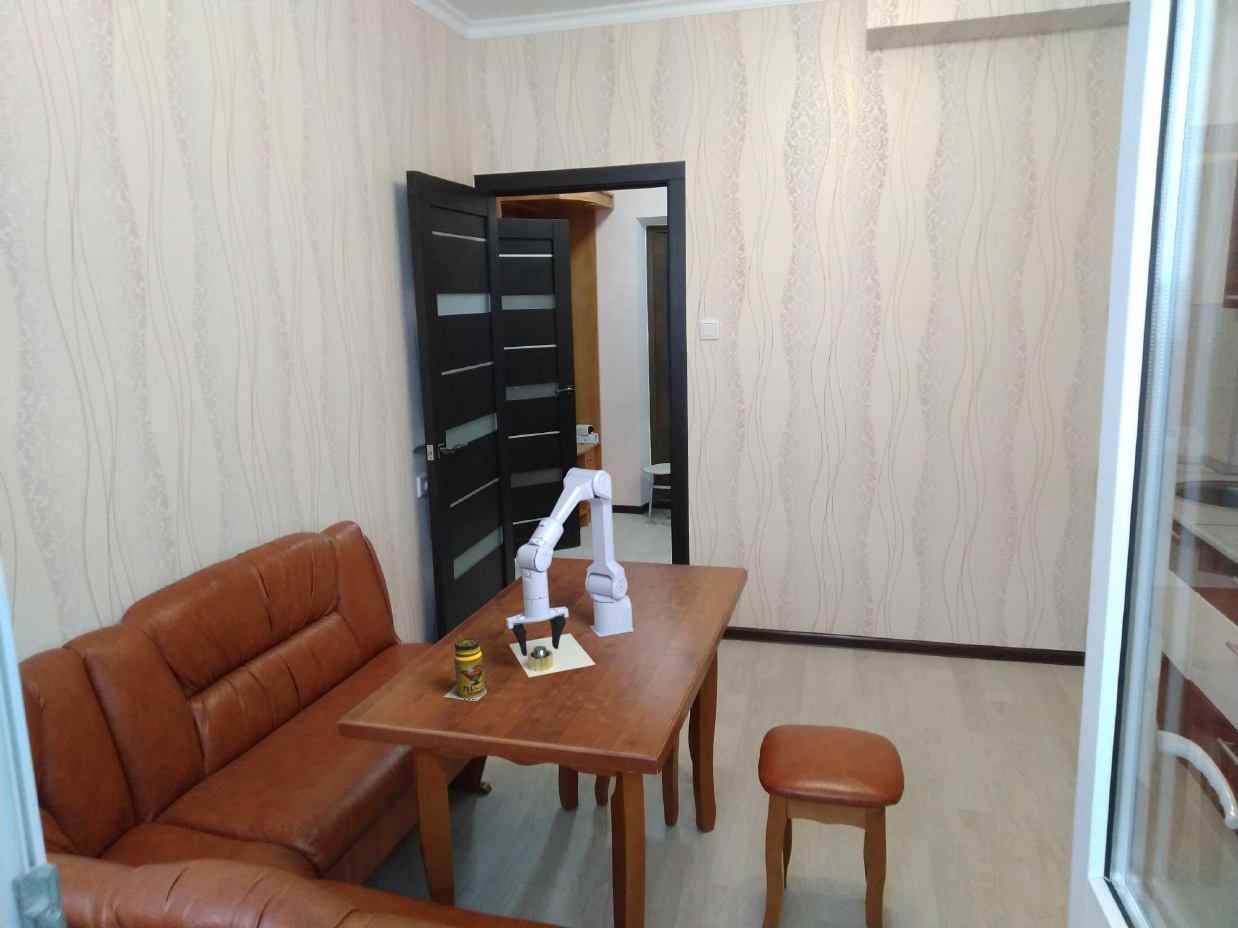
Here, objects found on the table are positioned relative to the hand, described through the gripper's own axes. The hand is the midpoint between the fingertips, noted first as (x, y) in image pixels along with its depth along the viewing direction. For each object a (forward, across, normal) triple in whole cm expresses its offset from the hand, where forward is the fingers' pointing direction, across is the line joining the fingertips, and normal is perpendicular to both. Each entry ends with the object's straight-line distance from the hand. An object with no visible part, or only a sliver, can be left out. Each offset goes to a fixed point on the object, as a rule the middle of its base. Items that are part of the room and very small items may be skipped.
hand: (540, 650), depth 198 cm
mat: (+4, -4, -6) cm, 8 cm away
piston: (+4, 0, 0) cm, 4 cm away
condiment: (+4, +18, +4) cm, 19 cm away
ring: (+4, 0, 0) cm, 4 cm away
